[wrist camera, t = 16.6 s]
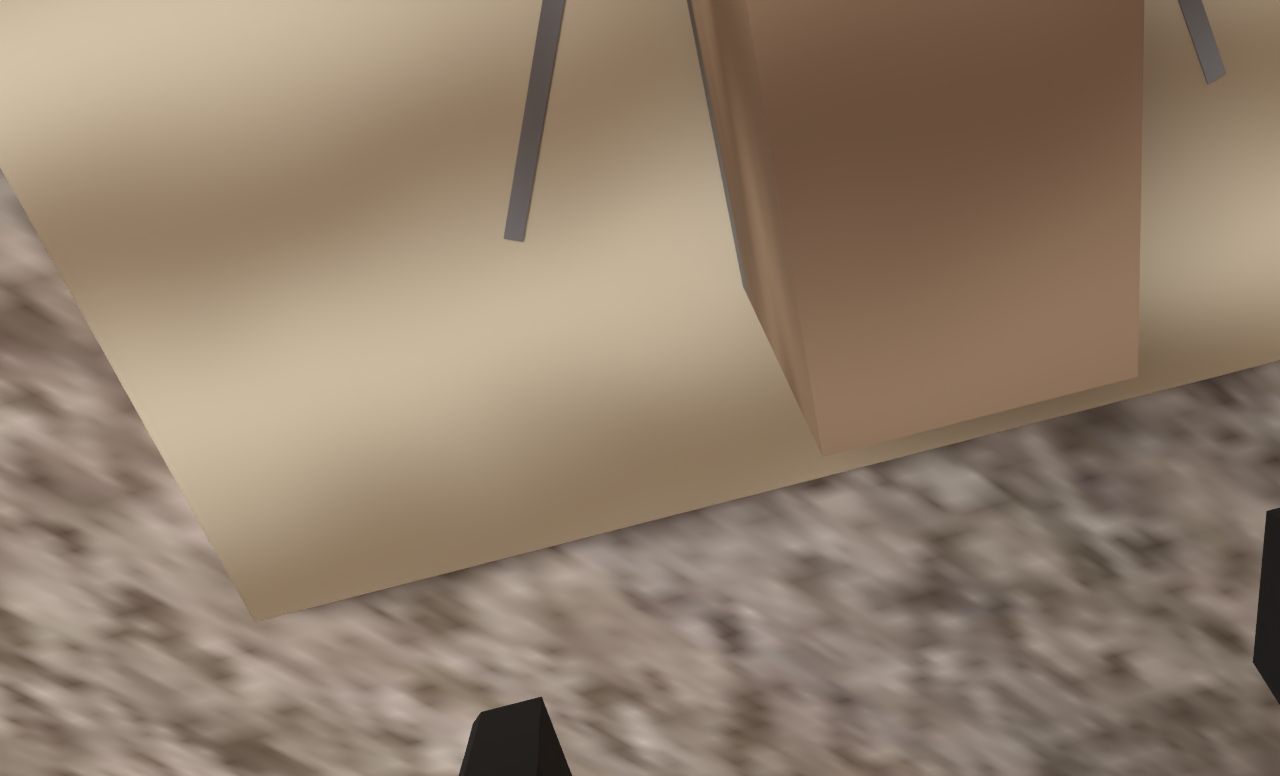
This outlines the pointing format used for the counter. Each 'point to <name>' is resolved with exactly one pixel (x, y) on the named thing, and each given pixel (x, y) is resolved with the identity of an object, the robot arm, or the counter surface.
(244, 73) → the board
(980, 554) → the counter surface
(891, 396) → the sanding block
